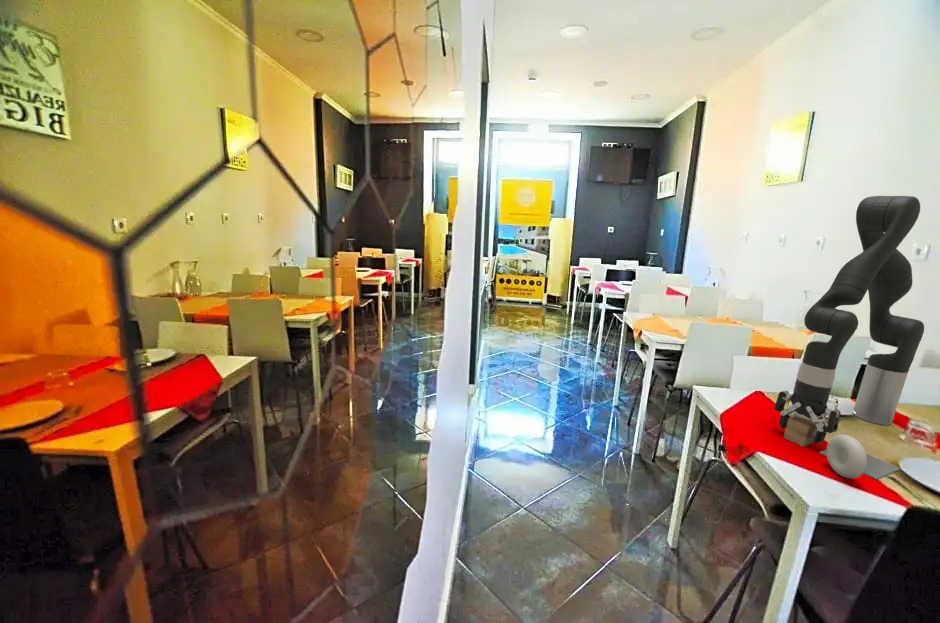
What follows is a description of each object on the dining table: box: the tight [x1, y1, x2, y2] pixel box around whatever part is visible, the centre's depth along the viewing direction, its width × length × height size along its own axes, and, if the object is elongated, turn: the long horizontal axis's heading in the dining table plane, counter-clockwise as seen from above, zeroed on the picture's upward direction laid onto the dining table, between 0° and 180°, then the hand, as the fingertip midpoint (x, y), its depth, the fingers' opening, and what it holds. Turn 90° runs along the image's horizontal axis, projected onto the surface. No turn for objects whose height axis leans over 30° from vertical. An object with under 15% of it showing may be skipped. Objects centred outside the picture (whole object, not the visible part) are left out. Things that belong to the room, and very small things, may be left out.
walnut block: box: [783, 416, 818, 448], centre depth 117 cm, size 5×5×6 cm
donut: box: [826, 434, 867, 479], centre depth 101 cm, size 10×4×10 cm, turn 174°
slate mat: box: [819, 449, 901, 480], centre depth 109 cm, size 12×12×1 cm
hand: (799, 435), depth 117 cm, fingers open, 8 cm apart
